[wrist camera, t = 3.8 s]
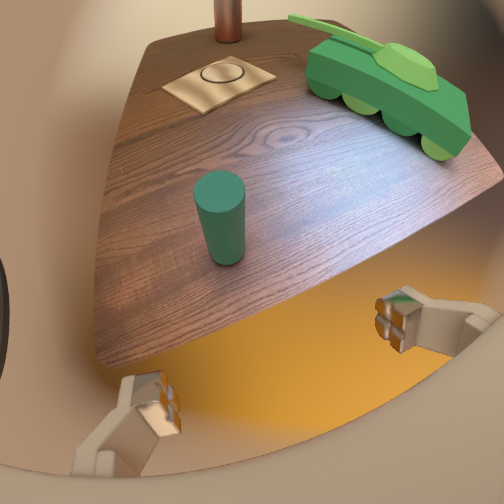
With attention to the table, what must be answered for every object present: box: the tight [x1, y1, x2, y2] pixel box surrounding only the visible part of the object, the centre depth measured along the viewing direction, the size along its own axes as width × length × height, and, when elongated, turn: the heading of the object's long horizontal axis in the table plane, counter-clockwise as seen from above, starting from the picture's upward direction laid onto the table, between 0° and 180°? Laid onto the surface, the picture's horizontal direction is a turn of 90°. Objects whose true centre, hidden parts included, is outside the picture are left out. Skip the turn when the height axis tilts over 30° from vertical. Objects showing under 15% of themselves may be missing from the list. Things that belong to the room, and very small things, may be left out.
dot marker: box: [193, 171, 245, 265], centre depth 24 cm, size 4×4×11 cm
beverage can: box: [214, 0, 242, 43], centre depth 43 cm, size 6×6×15 cm
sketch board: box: [162, 56, 276, 115], centre depth 41 cm, size 16×12×1 cm
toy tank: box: [288, 14, 471, 161], centre depth 36 cm, size 18×12×35 cm
